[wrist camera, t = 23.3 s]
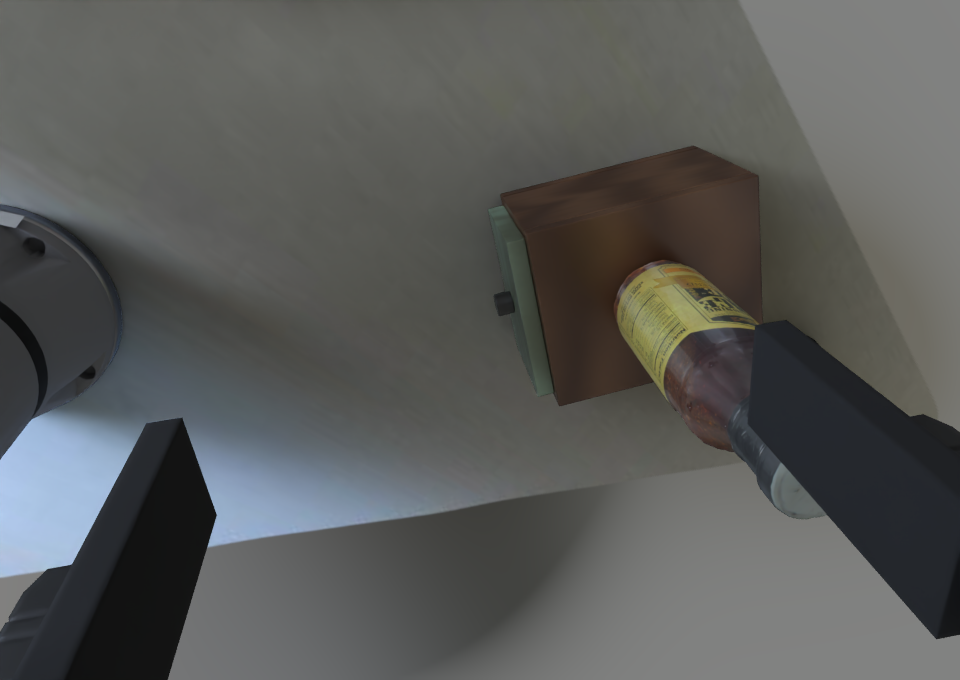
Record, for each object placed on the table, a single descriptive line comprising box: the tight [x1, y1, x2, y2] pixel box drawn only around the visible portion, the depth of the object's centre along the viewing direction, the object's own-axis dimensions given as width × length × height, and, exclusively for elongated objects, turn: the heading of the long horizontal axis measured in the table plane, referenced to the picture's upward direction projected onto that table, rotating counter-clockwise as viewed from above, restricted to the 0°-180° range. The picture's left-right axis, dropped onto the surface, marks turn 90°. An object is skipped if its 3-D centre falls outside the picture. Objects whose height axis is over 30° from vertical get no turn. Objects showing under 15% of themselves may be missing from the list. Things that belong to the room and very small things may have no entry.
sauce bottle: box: [614, 260, 827, 519], centre depth 37 cm, size 7×6×20 cm
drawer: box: [488, 205, 554, 397], centre depth 50 cm, size 15×12×8 cm
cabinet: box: [501, 146, 763, 406], centre depth 50 cm, size 15×13×10 cm
